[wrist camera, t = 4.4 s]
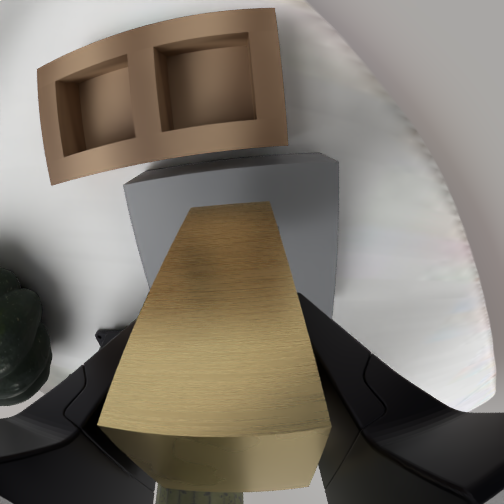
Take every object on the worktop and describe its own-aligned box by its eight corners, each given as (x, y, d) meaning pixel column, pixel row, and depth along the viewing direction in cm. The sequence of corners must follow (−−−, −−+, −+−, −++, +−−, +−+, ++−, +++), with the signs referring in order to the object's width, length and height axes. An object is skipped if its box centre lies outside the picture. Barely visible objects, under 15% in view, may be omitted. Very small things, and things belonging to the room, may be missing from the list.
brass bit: (272, 269, 14) (308, 486, 5) (201, 275, 14) (164, 487, 5) (269, 201, 12) (331, 426, 3) (190, 207, 12) (97, 424, 3)
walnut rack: (267, 28, 14) (274, 8, 11) (278, 140, 18) (288, 145, 14) (68, 73, 14) (37, 69, 11) (80, 172, 18) (51, 185, 14)
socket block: (318, 299, 23) (330, 331, 20) (177, 312, 24) (169, 345, 20) (319, 152, 18) (338, 161, 15) (144, 171, 18) (123, 185, 15)
